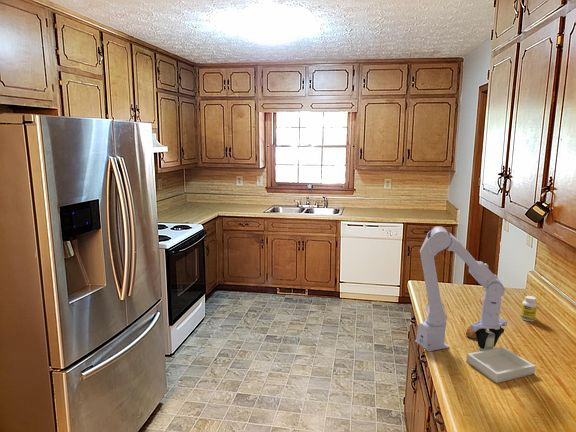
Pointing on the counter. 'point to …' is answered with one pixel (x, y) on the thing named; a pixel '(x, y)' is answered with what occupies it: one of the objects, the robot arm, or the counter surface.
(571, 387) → the counter surface
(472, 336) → the pastry
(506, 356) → the bin
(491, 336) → the tin
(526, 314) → the supplement bottle
